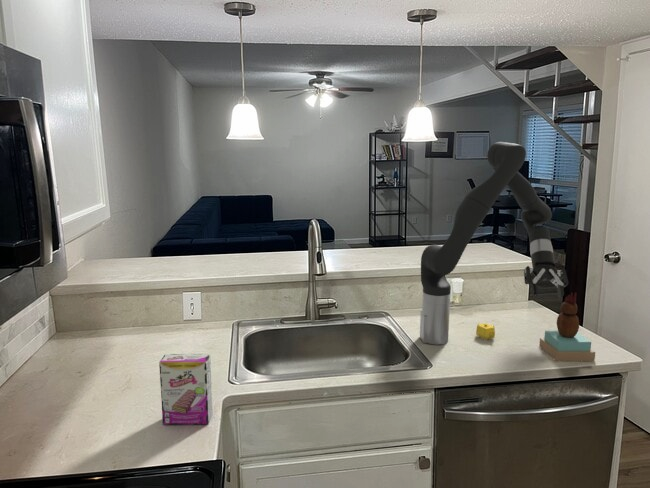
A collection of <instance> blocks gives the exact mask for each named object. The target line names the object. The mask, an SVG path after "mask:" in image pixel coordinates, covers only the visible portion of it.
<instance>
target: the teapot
mask: <svg viewBox="0 0 650 488" xmlns="http://www.w3.org/2000/svg"><path fill="white" fill-rule="evenodd" d="M475 329H476V330H475V335H476V336H478V339H479V338H480V339H483V341H487V340H493V339H495V338H496V337H495V336H496V329H495V325H491V324H489V323H477V325H476V328H475Z"/></svg>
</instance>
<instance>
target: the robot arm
mask: <svg viewBox="0 0 650 488" xmlns="http://www.w3.org/2000/svg"><path fill="white" fill-rule="evenodd" d="M526 157H527V150H526V148H525V147H524V146H523V145H521V144H517V143H512V142H506V141H505V142H504V141H498V142H494V143H493V144H492V145H491V146H489V148H488V151H487V155H486V158H487V162H488V164H489V165H490V167H491V168H492V169H493V170H494V172H493V173H492V175H491V176H490V177H488V178H487V179H486V180H484V181H482V182H481V183H479V184H478V185H476V186H475V187H474V188H472V189H471V190H470V191H468V192H467V194H466V195H465V196H464V197H463V199H462V200H461V202H460V203H459V206H458V207H457V209H456V211H455V215H454V220H453V221H454V222H453V226H452V230H451V232H450V235H448V237H447V239H446V240H445V242H444V244H442V246H441V245H438V244H430V245H428V246H426V247H425V248H424V250H423V251H422V254H421V257H420V282H421V286H422V308H421V311H420V319H419V320H420V321H419V338H420V340H421V341H422V343H423V344H430V345H436V346H437V345H438V346H439V345H444V344H447V343H448V342H449V335H450V334H449V329H450V312H451V311H450V309H451V290H452V287H451V284H450V283H449V281H448V280H447V278H446V276H448V275H449V274H451V272H453V271H454V270H455V268H456V267H457V265H458V264H459V262H460V261H461V260H460V259H461V257H462V256H463V253H464V252H465V249H466V248H467V246H468V244H469V243H470V240H471V239H472V238H473V236H474V234H475V233H476V231H477V230H478V228H479V226H480V225H481V224H482V223H483V221H484V219H485V218H486V217H487V215H488V213H489V212H490V210H491V209H492V207H493V205H494V203H495V202H496V201H497V200H498V197H499V196H500V195H501V194H502V192H503V191H504V189H505V188H506V187H507V188H508V189H509V190H510V192H511V194H512V195H513V196H514V199H515V200H516V202H517V204H518V206H519V207H520V209H522V211H521V213H520V219H521V221H522V223H523V225H524V227H525V228H526V231H527V235H528V239H529V252H530V258H531V267H530V266H529V265H527V266H526V267H525V268H524V269H523V277H524V278H523V280H524V284H525V285H529V286H530V289H531V290H530V291H531V294H532V295H533V296H534V297H537V296H538V295H539V290H538V285H537V283H538V281H541V282H551V284H553V285H554V286H555V287H556V292H557V296H558V299H562V298H563V297H564V295H565V289H564V288H565V287H567V286H568V285H569V279H568V275H567V270H566V269H565V268H562V269H557V268H556V261H555V255H554V248H553V245H552V241H551V234H550V230H549V229H548V228H547V227H546V226H541V225H542V224H547V223H549V222H550V221H551V220H552V218H553V217H552V216H553V213H552V210H551V208H550V206H549V205H548V204H547V203H545V202H544V201H543V200H542V199H541V198H540V197H539V196H538V195H537V194H538V193H537V192H536V190H535V188H534V187H533V185H532V183H531V182H530V181H529V180H528V179H527V178H526V177H524V176H523V174H521V173H520V172H519V170H520V169H521V168H522V166H523V165H524V163H525V159H526ZM538 225H540V226H538ZM532 273H533V275H534V276H535V277H534V278H533V279H532V278H531V274H532Z"/></svg>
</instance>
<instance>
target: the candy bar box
mask: <svg viewBox="0 0 650 488" xmlns="http://www.w3.org/2000/svg"><path fill="white" fill-rule="evenodd" d="M158 364H159V377H160V378H159V380H160V381H159V382H160V393H161V394H160V395H161V397H160V398H161V399H160V401H161V412H162V413H161V414H162V415H161V416H162V425H163V426H168V425H169V426H173V425H174V426H176V425H177V426H178V425H179V426H181V425H182V426H183V425H184V426H185V425H186V426H188V425H209V424H210V421H211V418H212V416H213V395H212V394H213V393H212V368H211V367H212V366H211V354H210V353H178V354H177V353H164V355H163V357H162V358H161V359H160V360H159V363H158Z"/></svg>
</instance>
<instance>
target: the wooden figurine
mask: <svg viewBox="0 0 650 488" xmlns="http://www.w3.org/2000/svg"><path fill="white" fill-rule="evenodd" d="M560 309H561V312H560V313H559V314H558V316H557V318H556V328H557V331H558V332H559V334H560V335H561V336H564V337H567V338H572V337H574V336H575V335H576V334H577V332H578V333H579V329H580V319H579V317H578V316H577V315H576V314H577V313H578V305H577V292H574V294H573V292H570V294H568V295H567V296H565V299H564V301H563V302H562V303H561V307H560Z"/></svg>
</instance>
